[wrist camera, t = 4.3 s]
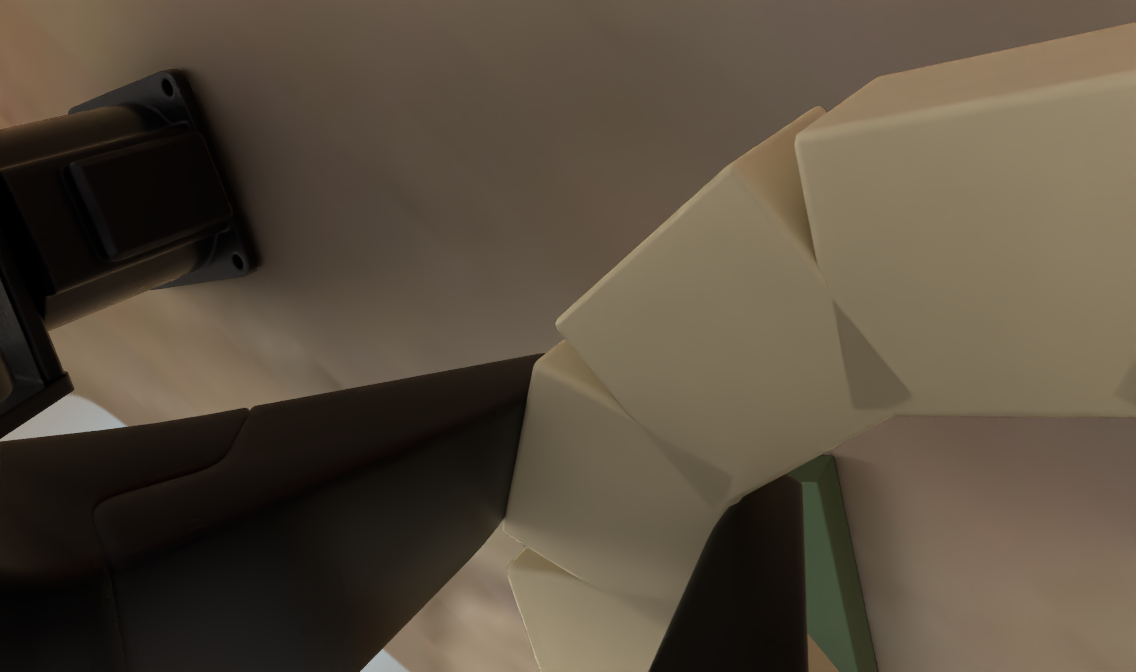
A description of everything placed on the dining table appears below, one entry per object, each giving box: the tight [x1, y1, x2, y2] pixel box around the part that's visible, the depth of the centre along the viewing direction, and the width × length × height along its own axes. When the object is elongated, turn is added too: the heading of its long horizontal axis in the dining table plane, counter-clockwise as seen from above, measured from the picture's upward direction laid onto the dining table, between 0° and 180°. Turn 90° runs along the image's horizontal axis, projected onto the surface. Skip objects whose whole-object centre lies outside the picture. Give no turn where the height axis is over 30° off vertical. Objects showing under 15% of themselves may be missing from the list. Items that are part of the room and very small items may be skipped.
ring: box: [502, 22, 1136, 672], centre depth 8 cm, size 10×10×2 cm
